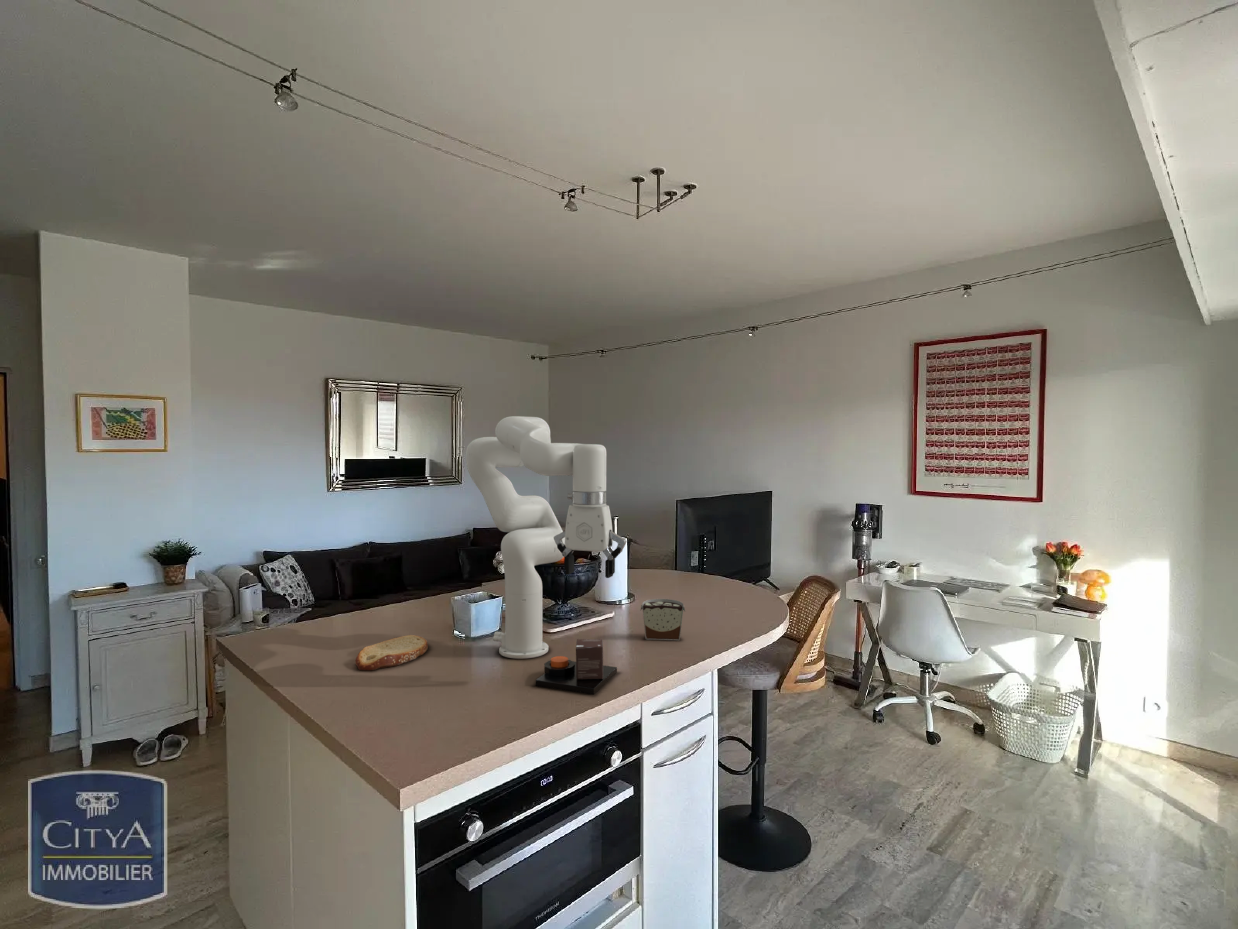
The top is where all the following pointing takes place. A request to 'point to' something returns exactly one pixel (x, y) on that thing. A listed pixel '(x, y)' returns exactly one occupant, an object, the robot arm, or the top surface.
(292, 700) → the top surface
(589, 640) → the box
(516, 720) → the top surface
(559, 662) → the button
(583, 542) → the robot arm
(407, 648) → the slice of bread
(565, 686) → the scale
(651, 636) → the food container
